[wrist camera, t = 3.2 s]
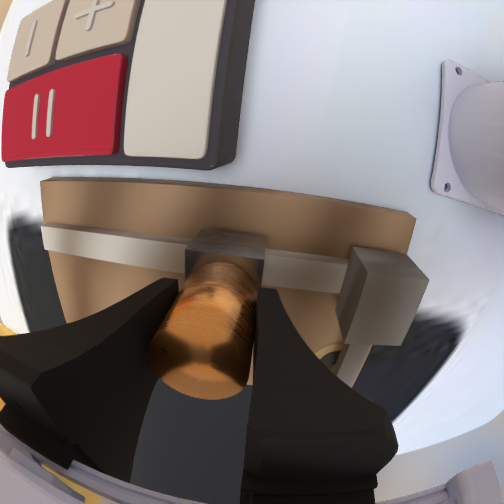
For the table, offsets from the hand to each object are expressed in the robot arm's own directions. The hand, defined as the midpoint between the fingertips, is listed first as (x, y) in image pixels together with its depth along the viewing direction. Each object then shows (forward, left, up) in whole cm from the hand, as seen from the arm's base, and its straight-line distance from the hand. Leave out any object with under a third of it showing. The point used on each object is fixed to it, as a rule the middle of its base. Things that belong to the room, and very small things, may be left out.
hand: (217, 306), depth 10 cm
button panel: (+8, -10, -6) cm, 14 cm away
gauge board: (+2, +3, -5) cm, 6 cm away
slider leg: (0, +3, -4) cm, 5 cm away
